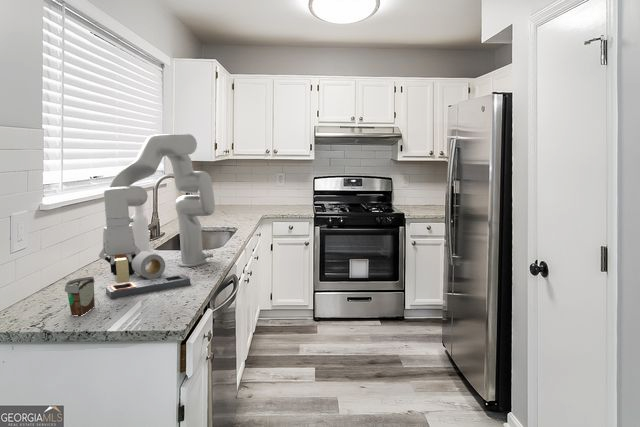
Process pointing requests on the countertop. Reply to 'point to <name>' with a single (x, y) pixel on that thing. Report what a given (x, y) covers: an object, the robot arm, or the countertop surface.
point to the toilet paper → (155, 267)
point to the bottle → (140, 229)
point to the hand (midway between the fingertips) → (121, 273)
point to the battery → (125, 257)
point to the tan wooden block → (121, 270)
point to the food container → (80, 295)
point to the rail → (147, 286)
